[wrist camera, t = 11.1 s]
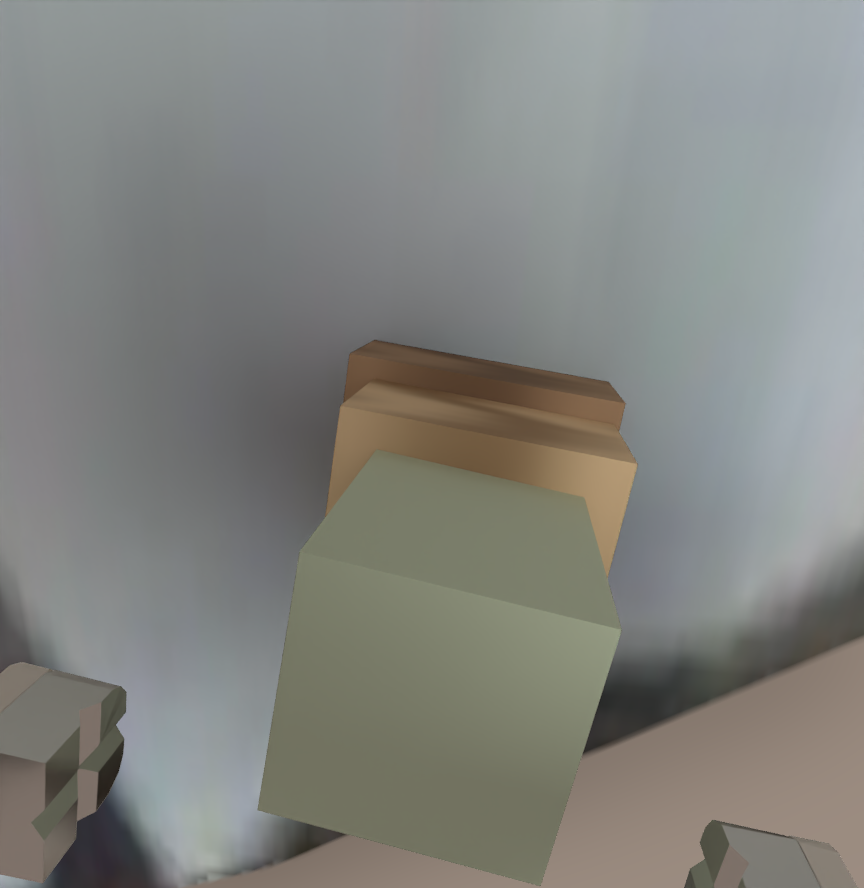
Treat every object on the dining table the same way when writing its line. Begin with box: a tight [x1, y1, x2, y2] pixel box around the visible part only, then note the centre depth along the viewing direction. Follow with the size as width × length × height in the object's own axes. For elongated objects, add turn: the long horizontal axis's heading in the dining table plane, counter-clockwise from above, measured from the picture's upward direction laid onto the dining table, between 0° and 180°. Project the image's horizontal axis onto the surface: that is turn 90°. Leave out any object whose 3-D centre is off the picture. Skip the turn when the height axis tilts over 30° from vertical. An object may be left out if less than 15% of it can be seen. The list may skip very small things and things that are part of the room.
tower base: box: [343, 340, 626, 432], centre depth 23 cm, size 8×8×4 cm
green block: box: [258, 449, 622, 886], centre depth 14 cm, size 5×5×6 cm
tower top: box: [325, 378, 638, 578], centre depth 19 cm, size 7×7×4 cm
